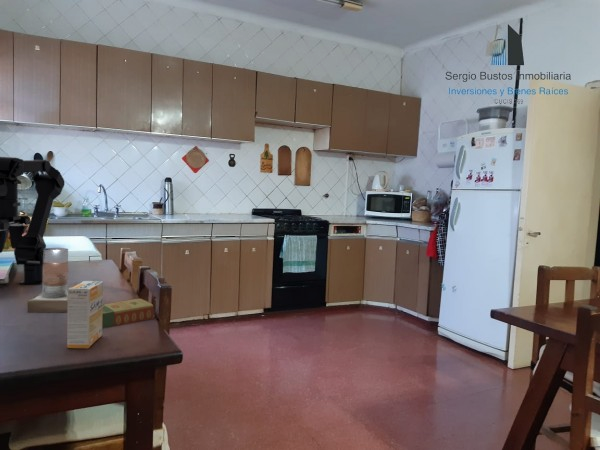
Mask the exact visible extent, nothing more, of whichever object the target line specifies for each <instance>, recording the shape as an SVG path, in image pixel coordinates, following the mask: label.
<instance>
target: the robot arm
mask: <svg viewBox="0 0 600 450" xmlns="http://www.w3.org/2000/svg"><path fill="white" fill-rule="evenodd" d="M41 172H42V173H41ZM43 172H44V173H43ZM24 173H32V177H31V179H32V181H33V182H34V184H35V187H34V189H35V191H36V193H37V198H36V200H35V204H34V207H33V211H32V215H31V218H30V217H29V215H23V214H19V211H18V209H19V208H18V207H21V201H20V202H19V200H18V199H19V197H18V195H19V194H18V192H19V190H18V188H19V186H18V185H22V182H21V180H20V179H18V177H21V176H23V175H24ZM40 173H41V174H40ZM64 179H65V178H64V177H63V176H62V173H61V172H60V171H59V170H58V169H57V168H55V167H54V166H52V165H51V162H50V161H49V160H46V159H31V160H30V159H29V160H24V159H21V158H18V157H14V156H13V157H10V156H0V254H2V253H3V250H4V248H5V245H6V242H7V239H8V236H9V240H10V246H11V249H14V251H13V255H14V259H15V263H16V265H17V266H18V265H21V266H22V265H23V266H22V267H23V280H21V281H19V282H18V283H19V284H20V285H21V284H22V285H41V284H42V281H43V251H44V249H45V248H47V244H46V242H45V240H44V235H45V231H46V228H47V223H48V221H49V217H50V214H51V210H52V207H53V202H54V200H55V199H57V198H58V197H59V196H60V195H61V194H62V191H63V188H64V187H65V180H64ZM26 230H27V231H26ZM25 232H26V234H24V233H25Z"/></svg>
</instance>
